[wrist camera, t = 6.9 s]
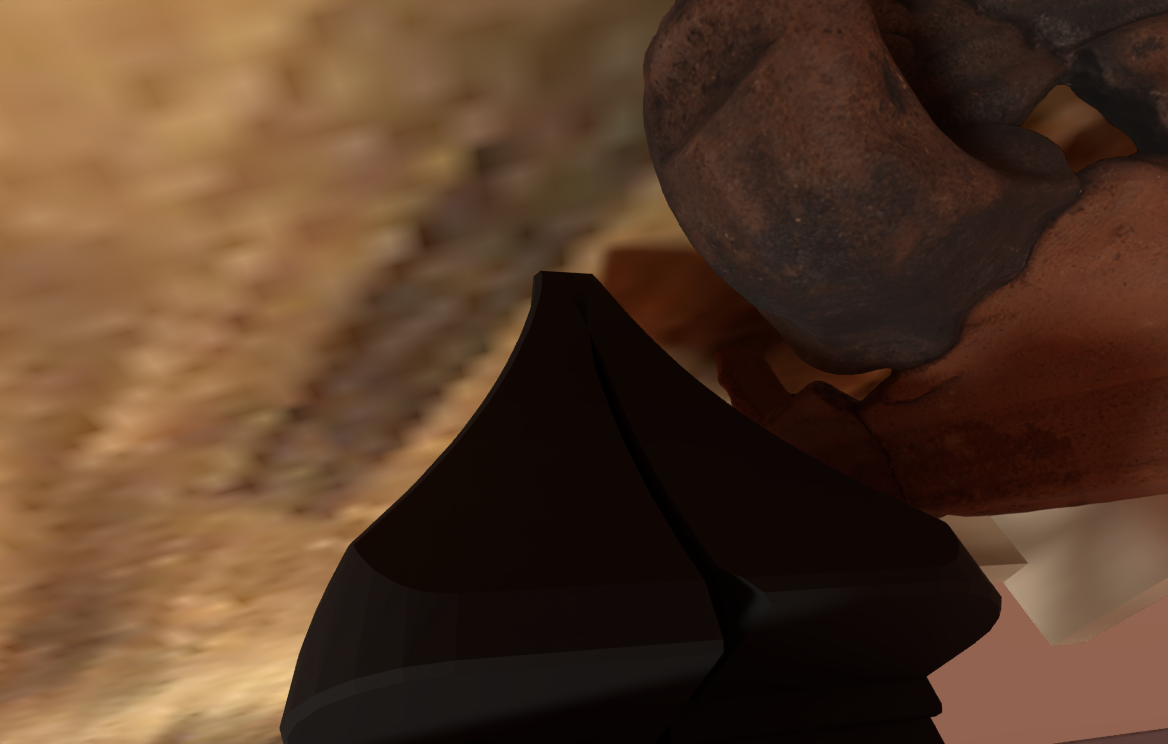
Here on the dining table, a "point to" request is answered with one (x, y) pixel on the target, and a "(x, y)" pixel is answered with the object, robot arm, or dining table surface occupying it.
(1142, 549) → the maple cradle
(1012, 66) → the pottery mug
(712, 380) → the dining table surface
